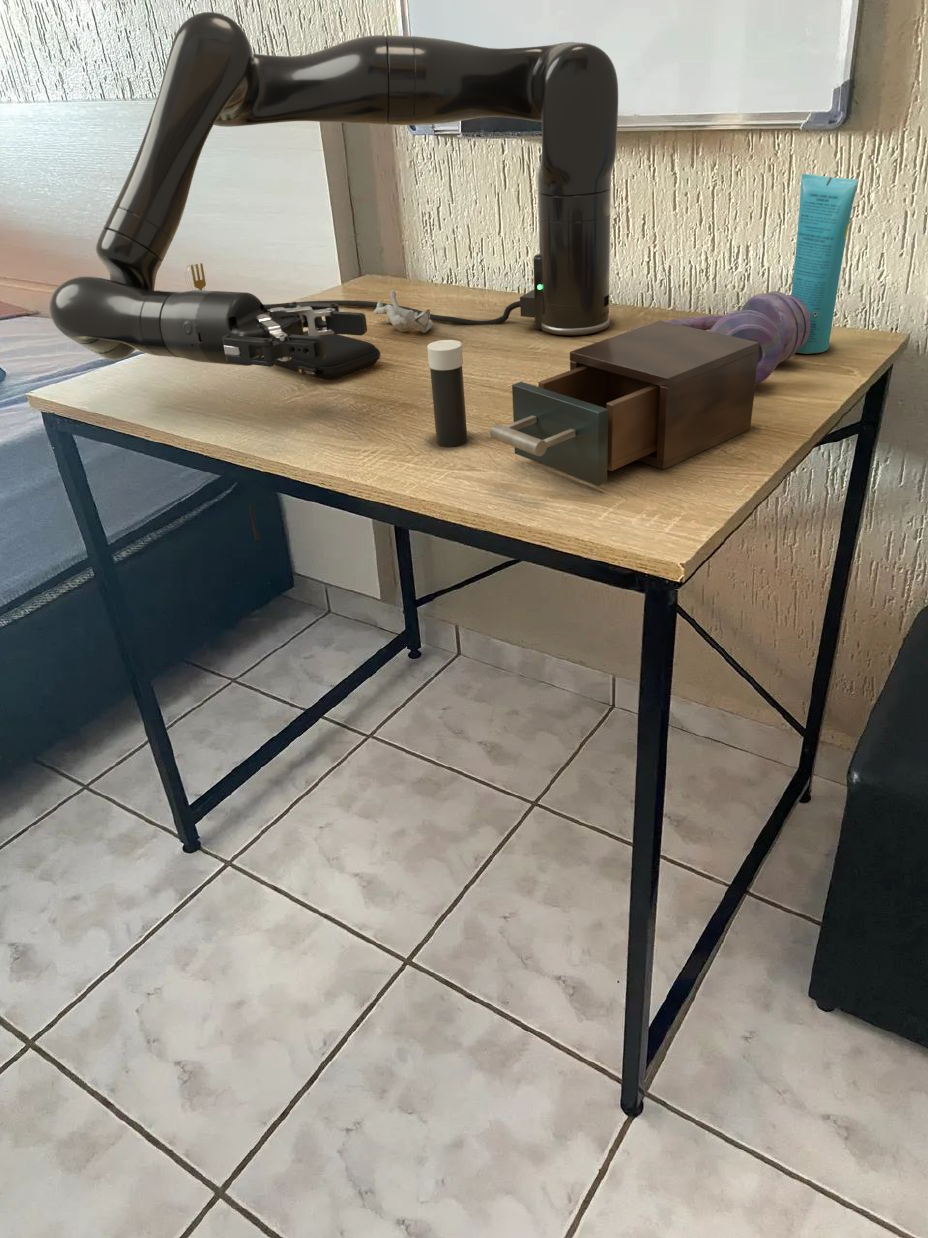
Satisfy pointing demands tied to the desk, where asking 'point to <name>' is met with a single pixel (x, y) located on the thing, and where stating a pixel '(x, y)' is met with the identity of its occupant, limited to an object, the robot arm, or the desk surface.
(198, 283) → the utensil holder
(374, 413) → the desk surface
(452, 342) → the bottle
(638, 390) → the drawer
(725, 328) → the headphones
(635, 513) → the desk surface
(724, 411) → the cabinet
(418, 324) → the grey animal figurine
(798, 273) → the tube
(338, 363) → the carrying case
